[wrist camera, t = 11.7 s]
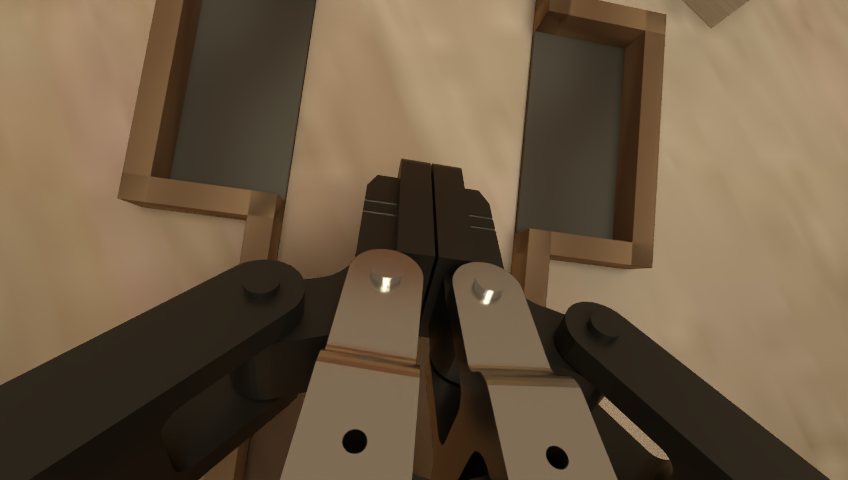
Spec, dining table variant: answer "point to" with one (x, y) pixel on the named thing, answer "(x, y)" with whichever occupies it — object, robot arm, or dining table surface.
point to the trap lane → (279, 109)
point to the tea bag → (714, 9)
